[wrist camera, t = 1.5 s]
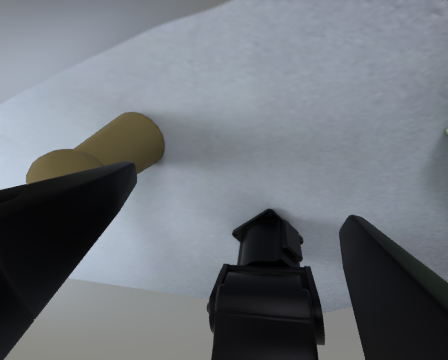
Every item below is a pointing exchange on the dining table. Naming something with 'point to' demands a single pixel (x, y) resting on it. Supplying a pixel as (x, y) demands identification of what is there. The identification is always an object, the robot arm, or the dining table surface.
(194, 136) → the dining table surface
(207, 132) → the dining table surface
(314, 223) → the dining table surface
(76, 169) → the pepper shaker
